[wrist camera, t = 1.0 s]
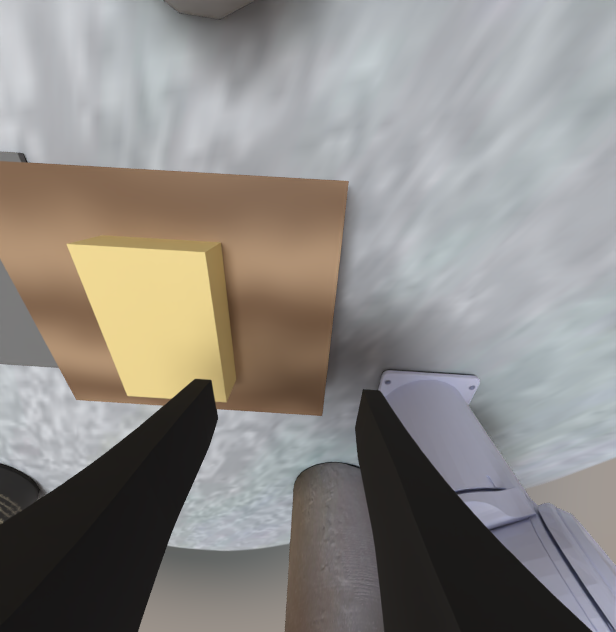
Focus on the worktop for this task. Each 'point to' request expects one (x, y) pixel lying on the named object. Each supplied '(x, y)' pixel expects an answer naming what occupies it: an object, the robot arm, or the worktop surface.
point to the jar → (15, 492)
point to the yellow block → (160, 311)
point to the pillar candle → (332, 554)
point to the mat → (19, 318)
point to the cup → (208, 7)
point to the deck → (194, 225)
